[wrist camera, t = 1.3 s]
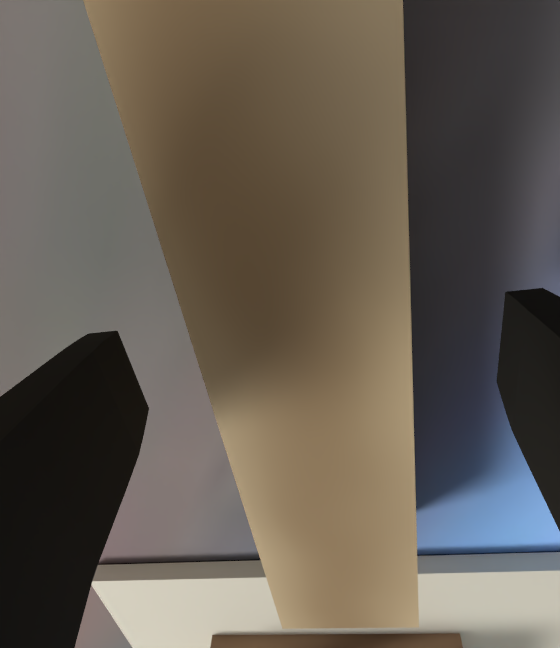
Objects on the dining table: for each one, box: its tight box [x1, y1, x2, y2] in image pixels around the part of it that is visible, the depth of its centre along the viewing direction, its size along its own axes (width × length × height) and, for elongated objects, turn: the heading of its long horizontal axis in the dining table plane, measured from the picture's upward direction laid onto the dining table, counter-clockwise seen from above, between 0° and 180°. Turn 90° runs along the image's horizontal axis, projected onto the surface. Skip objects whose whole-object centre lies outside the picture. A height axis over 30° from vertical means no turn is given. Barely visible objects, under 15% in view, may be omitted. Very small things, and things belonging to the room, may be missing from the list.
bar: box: [83, 0, 419, 629], centre depth 10 cm, size 4×16×4 cm, turn 9°
